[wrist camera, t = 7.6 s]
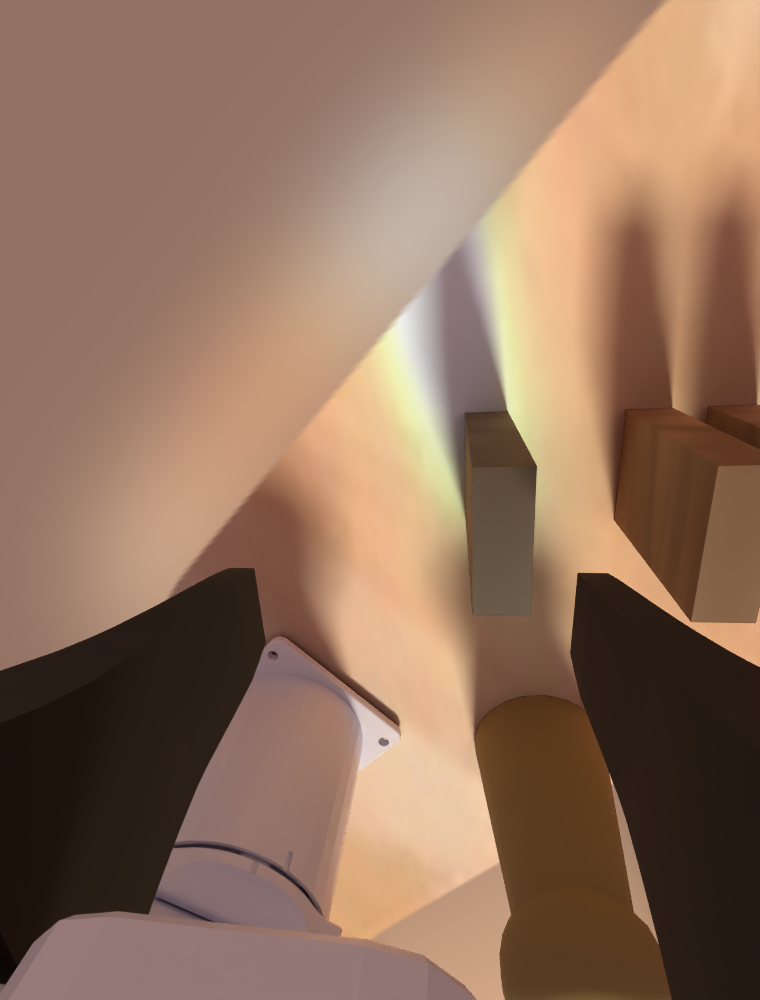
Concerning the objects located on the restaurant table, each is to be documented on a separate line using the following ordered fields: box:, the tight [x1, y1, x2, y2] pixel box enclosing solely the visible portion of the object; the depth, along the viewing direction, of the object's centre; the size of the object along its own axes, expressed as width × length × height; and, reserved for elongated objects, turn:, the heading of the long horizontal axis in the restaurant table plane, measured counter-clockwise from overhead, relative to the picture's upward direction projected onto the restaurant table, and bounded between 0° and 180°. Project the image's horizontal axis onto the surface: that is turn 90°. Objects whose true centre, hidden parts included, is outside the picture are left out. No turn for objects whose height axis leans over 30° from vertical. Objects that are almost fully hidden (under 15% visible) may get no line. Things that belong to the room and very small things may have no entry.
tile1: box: [465, 411, 537, 616], centre depth 17 cm, size 2×4×7 cm, turn 4°
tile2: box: [614, 408, 760, 623], centre depth 16 cm, size 2×4×7 cm, turn 3°
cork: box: [474, 696, 672, 1000], centre depth 20 cm, size 6×6×11 cm
